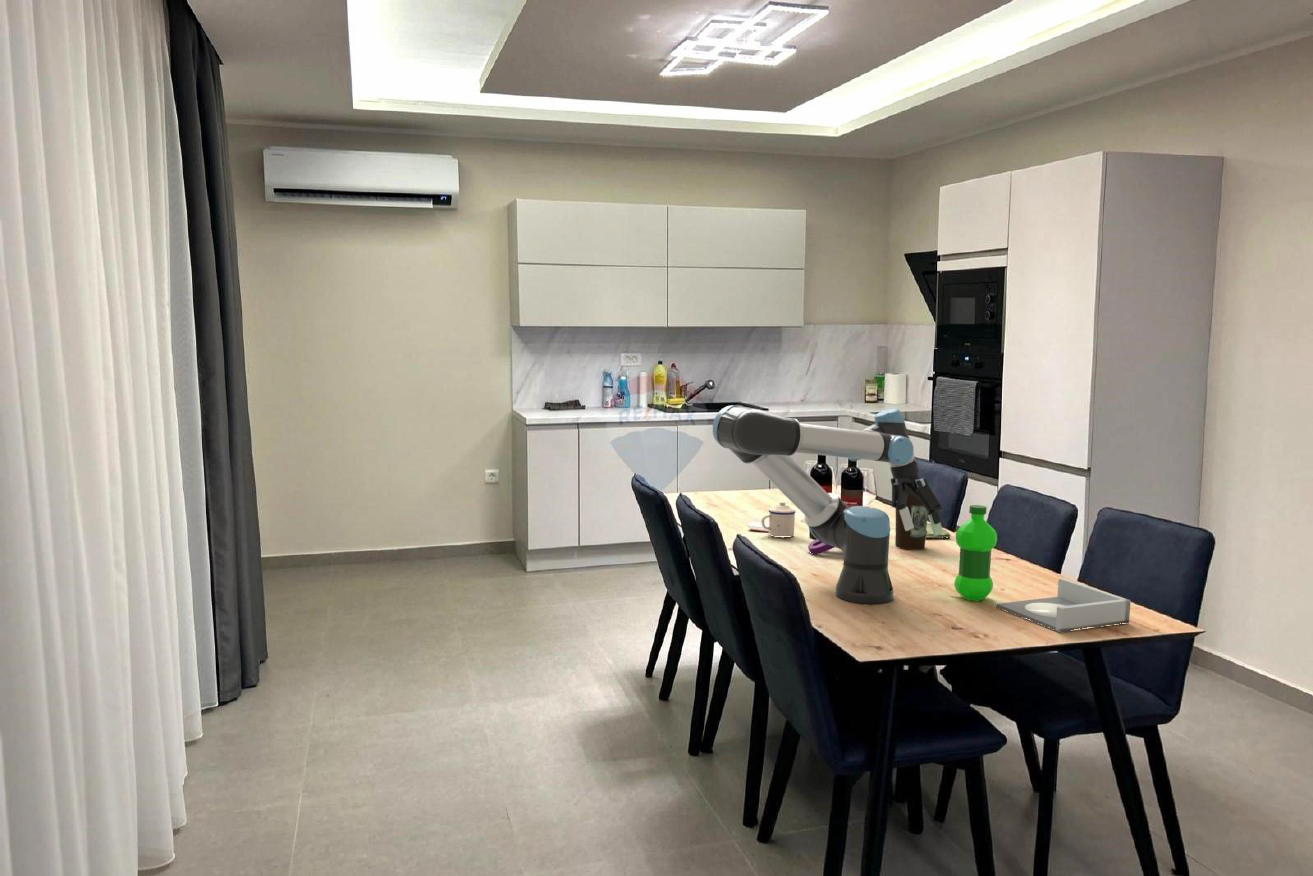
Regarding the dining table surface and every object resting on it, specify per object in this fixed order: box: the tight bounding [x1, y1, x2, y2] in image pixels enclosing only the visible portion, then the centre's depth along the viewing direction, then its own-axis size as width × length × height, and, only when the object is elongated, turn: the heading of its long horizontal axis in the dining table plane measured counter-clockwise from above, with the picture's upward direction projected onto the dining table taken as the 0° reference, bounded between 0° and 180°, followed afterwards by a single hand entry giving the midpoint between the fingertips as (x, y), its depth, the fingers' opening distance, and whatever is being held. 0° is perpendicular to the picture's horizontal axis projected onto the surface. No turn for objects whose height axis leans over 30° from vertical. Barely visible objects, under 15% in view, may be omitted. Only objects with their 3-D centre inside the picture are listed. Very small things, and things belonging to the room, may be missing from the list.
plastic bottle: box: [953, 504, 998, 602], centre depth 260 cm, size 10×10×25 cm
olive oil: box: [894, 471, 929, 550], centre depth 319 cm, size 11×11×25 cm
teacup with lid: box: [760, 501, 796, 537], centre depth 333 cm, size 12×9×12 cm
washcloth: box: [926, 522, 951, 540], centre depth 341 cm, size 13×18×3 cm
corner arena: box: [995, 577, 1132, 633], centre depth 247 cm, size 22×22×6 cm
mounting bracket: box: [807, 538, 836, 555], centre depth 310 cm, size 10×8×18 cm
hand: (924, 531), depth 279 cm, fingers open, 13 cm apart
